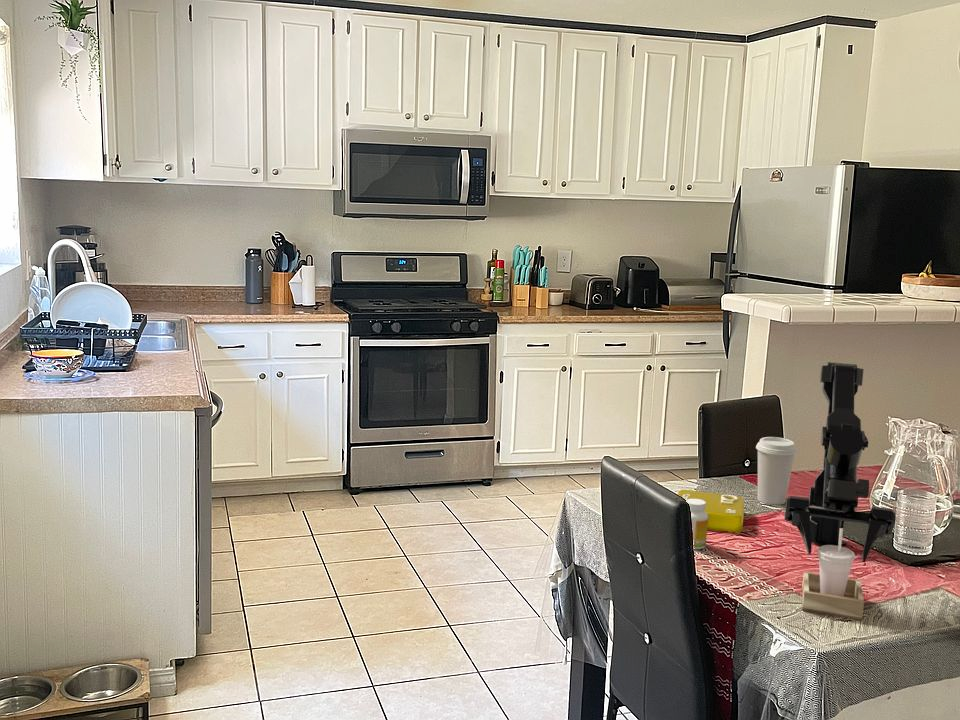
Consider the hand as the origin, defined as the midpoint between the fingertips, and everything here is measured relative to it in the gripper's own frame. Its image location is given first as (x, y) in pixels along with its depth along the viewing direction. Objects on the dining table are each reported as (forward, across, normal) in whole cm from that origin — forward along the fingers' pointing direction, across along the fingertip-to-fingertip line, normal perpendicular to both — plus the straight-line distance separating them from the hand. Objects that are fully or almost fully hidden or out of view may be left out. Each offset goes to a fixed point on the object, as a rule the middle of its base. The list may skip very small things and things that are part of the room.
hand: (836, 557), depth 167 cm
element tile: (-20, -25, +35) cm, 47 cm away
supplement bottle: (-8, -27, +21) cm, 35 cm away
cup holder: (+6, 0, +8) cm, 10 cm away
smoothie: (+6, 0, +8) cm, 9 cm away
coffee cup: (-34, -12, +48) cm, 60 cm away
